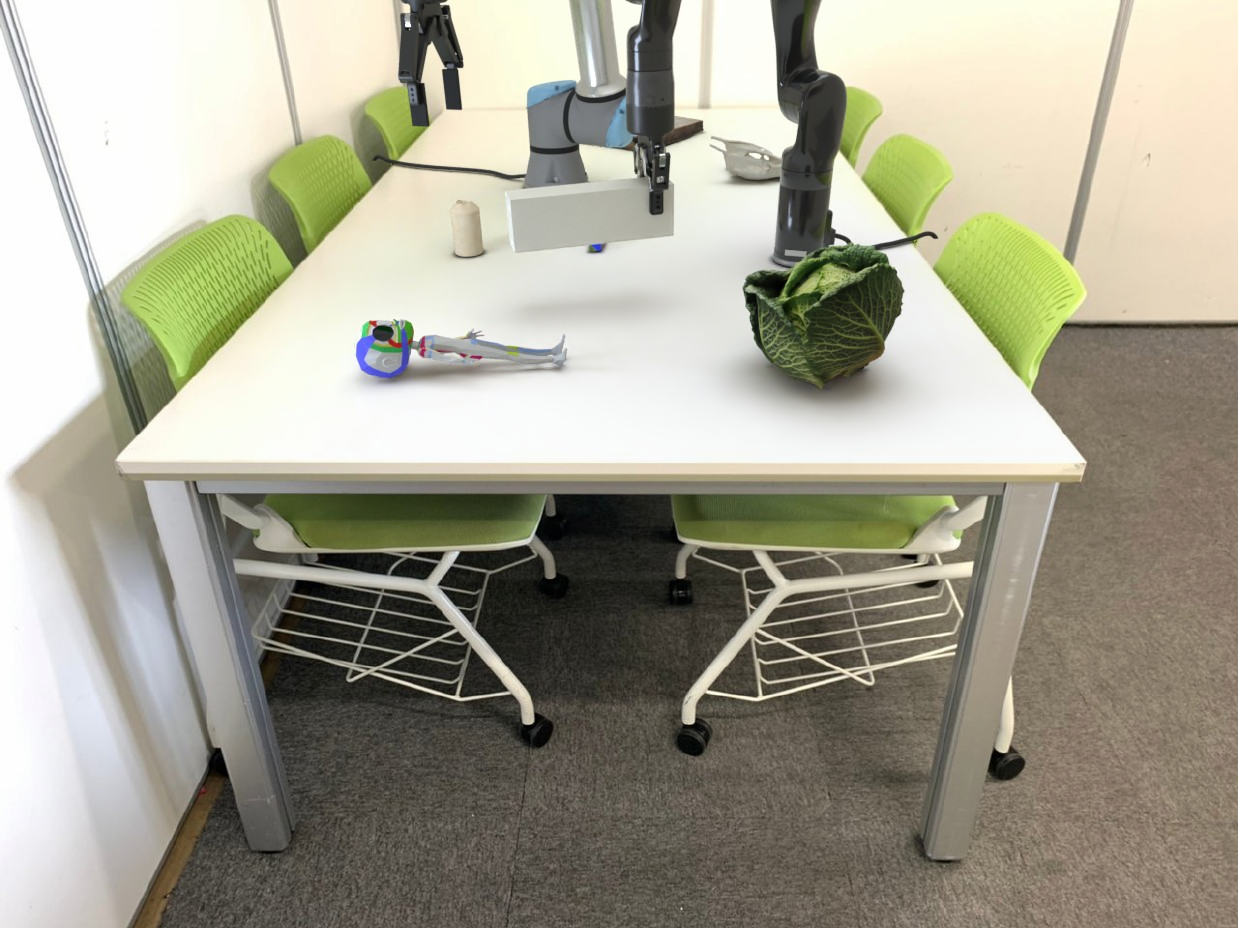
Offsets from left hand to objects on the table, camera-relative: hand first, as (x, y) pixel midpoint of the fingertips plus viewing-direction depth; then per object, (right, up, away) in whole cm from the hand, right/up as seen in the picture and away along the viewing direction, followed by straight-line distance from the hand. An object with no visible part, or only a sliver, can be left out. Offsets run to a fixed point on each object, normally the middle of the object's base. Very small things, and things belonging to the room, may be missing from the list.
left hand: (438, 117), depth 151 cm
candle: (+1, -17, +24) cm, 30 cm away
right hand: (+36, -17, -4) cm, 40 cm away
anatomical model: (+65, +12, +68) cm, 95 cm away
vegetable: (+59, -45, -22) cm, 78 cm away
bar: (+26, -22, -4) cm, 34 cm away
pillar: (+27, -12, +32) cm, 43 cm away
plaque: (+35, +36, +108) cm, 119 cm away
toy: (+8, -45, -19) cm, 49 cm away
